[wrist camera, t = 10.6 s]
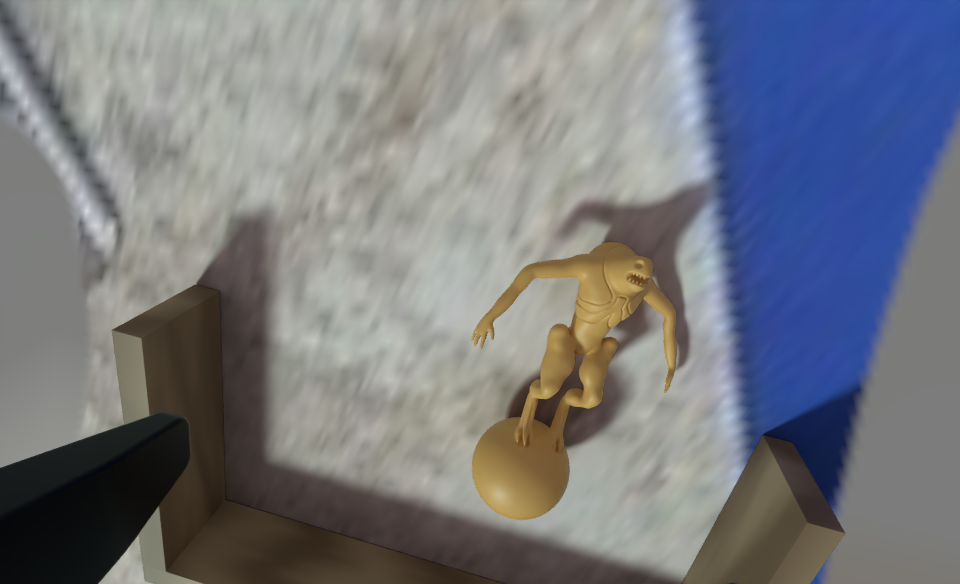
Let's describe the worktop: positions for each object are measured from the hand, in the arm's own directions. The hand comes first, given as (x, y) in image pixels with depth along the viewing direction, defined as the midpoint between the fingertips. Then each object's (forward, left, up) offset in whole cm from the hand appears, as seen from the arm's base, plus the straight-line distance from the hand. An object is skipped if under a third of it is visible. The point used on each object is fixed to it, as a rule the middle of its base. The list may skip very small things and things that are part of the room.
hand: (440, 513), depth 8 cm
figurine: (-1, +10, -12) cm, 15 cm away
